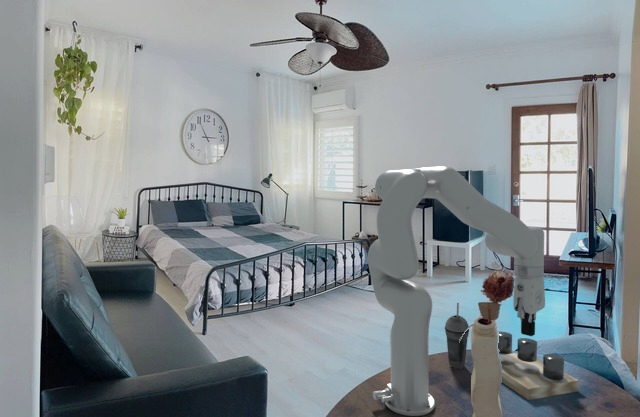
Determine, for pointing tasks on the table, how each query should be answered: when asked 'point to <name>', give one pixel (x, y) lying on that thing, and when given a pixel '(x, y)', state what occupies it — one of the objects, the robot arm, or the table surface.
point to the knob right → (553, 366)
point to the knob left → (505, 343)
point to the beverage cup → (456, 340)
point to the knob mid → (527, 350)
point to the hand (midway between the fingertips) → (527, 334)
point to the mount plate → (533, 379)
